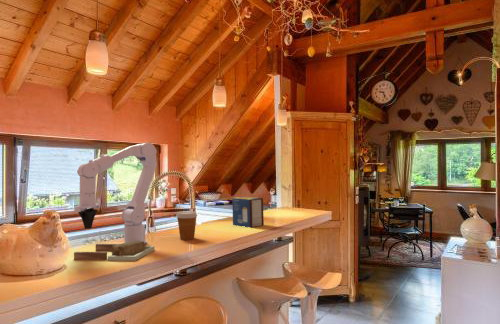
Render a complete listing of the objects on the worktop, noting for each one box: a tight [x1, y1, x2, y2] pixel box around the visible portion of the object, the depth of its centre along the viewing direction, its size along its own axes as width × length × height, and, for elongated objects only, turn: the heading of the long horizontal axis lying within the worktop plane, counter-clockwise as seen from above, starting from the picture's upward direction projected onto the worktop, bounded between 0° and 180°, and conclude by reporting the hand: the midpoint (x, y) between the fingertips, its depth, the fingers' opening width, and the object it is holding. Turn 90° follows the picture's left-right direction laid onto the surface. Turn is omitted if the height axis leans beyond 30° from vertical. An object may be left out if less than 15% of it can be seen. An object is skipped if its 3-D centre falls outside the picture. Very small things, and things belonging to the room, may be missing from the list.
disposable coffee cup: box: [176, 211, 198, 241], centre depth 165 cm, size 10×10×12 cm
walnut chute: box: [73, 243, 118, 261], centre depth 136 cm, size 15×12×2 cm
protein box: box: [231, 196, 265, 228], centre depth 202 cm, size 10×15×16 cm
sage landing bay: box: [107, 245, 156, 262], centre depth 135 cm, size 17×10×2 cm, turn 173°
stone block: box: [111, 241, 146, 256], centre depth 134 cm, size 6×12×5 cm, turn 145°
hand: (88, 228), depth 140 cm, fingers closed
